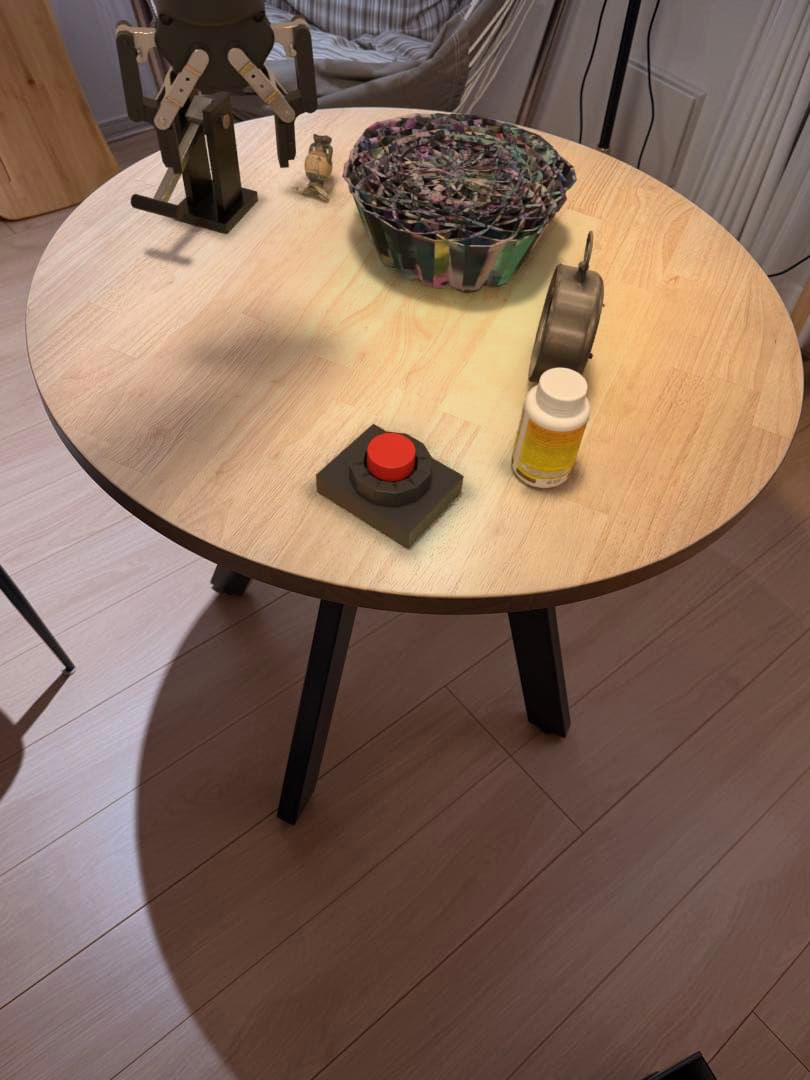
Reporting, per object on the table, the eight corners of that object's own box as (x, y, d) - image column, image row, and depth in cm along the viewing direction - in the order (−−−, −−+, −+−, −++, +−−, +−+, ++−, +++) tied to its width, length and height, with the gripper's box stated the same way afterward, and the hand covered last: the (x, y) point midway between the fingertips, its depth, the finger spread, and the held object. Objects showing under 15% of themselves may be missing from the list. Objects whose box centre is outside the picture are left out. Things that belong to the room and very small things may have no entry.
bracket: (226, 234, 92) (210, 121, 81) (173, 219, 93) (150, 107, 83) (258, 200, 96) (246, 89, 86) (207, 187, 97) (189, 76, 87)
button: (423, 461, 67) (425, 447, 66) (395, 489, 65) (396, 475, 64) (386, 439, 68) (387, 425, 67) (357, 466, 66) (357, 452, 65)
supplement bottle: (579, 486, 71) (608, 403, 63) (520, 495, 70) (542, 411, 62) (559, 442, 74) (584, 357, 66) (502, 449, 73) (520, 364, 65)
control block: (461, 492, 70) (466, 461, 67) (407, 548, 66) (410, 519, 63) (372, 440, 73) (373, 408, 70) (316, 491, 69) (314, 460, 66)
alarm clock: (532, 342, 83) (566, 195, 70) (584, 351, 82) (627, 205, 69) (520, 413, 76) (554, 266, 63) (576, 423, 76) (622, 277, 63)
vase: (312, 172, 101) (310, 124, 96) (349, 183, 99) (349, 136, 95) (290, 191, 98) (286, 143, 93) (328, 203, 96) (326, 155, 92)
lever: (181, 226, 84) (173, 211, 81) (136, 213, 85) (126, 198, 82) (233, 119, 87) (226, 102, 84) (189, 108, 88) (181, 91, 85)
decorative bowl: (563, 208, 102) (581, 128, 94) (553, 328, 84) (575, 239, 76) (369, 180, 103) (372, 99, 96) (318, 291, 85) (316, 202, 78)
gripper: (86, -53, 48) (143, 197, 61) (317, -57, 51) (325, 184, 64) (87, -93, 52) (140, 149, 65) (300, -95, 55) (310, 138, 68)
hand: (231, 166), depth 65 cm, fingers open, 8 cm apart
